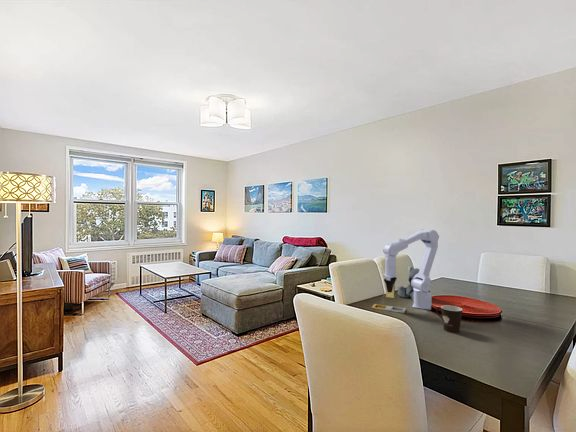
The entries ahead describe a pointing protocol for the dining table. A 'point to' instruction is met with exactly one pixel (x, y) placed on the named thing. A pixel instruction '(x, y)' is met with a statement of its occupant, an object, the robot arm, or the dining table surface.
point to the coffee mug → (451, 318)
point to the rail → (389, 308)
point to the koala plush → (409, 291)
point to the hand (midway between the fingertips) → (390, 291)
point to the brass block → (391, 294)
